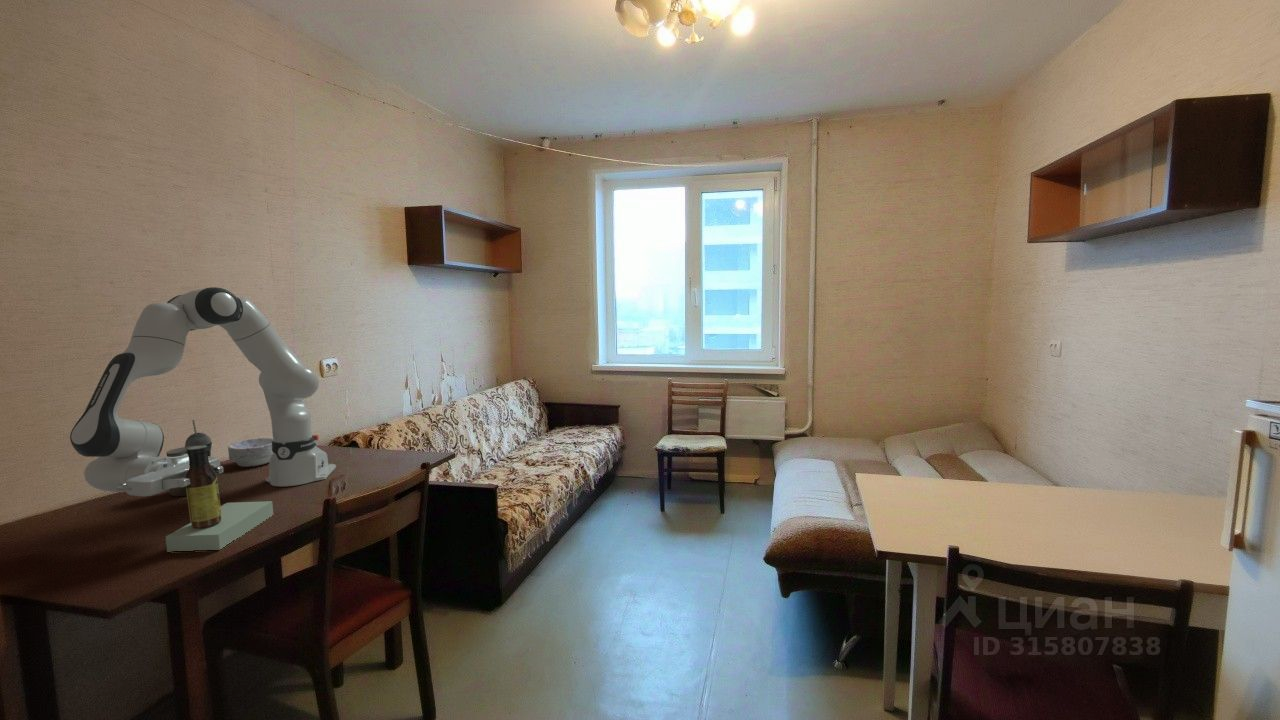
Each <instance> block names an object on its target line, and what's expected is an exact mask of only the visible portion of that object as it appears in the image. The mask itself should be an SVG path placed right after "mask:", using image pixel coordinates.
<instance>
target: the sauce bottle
mask: <svg viewBox="0 0 1280 720" xmlns="http://www.w3.org/2000/svg"><path fill="white" fill-rule="evenodd" d="M207 452H208V447H207V446H206V445H202V446H194V447H190V448H188V449H187V454H188V456H189V465H190V467H189V470H188V472H187V473H186V476H185V478H189V479H190V485H188V486H186V492H187V496H186V499H187V505H188V507H187V508H188V514H189V515H188V516H189V521H190V523H191V524H192V527H193V528H205V527H209V526H212V525H215V524H217V523H219V522H220V521H221V506H222V505H221V500H220V499H221V497H220V491H219V482H218V476H217V474H216V473H215V472H214V470H213V468H212V466H211V465H210V463H209V460H208V453H207Z"/></svg>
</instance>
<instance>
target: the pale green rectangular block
mask: <svg viewBox="0 0 1280 720" xmlns="http://www.w3.org/2000/svg"><path fill="white" fill-rule="evenodd" d="M220 506H221V521H220V522H219V523H217V524H215V525H212V526H209V527H205V528H193V527H192V524H191V522H190V523H188V524H185V525H184V526H182V527H181V528H179V529H177V530H175V531H173V532H171V533H170V534H167V535H165V545H166V553H167V552H171V551H193V550H220V549H222V548H223V547H225V546H226V545H227V544H229V543H231V542H232V541H233V540H235V541H237V540H238V539H239V537H240V538H241V537H242V535H243V536H244V535H246V534H247V533H248V531H249V532H250V531H252V530H253V529H255V528H256V527H258V526H259V525H260V523H261V524H262V523H264V522H265V521H267V520H269V519H270V518H272V517H273V516H274V506H273V501H271V500H267V501H264V500H263V501H241V502H240V501H239V502H238V501H237V502H226V503H224V504H222V505H220ZM272 515H273V516H272ZM269 517H270V518H269ZM266 519H267V520H266ZM263 521H264V522H263ZM257 525H258V526H257ZM254 527H255V528H254ZM251 529H252V530H251ZM246 532H247V533H246ZM245 533H246V534H245ZM237 538H238V539H237ZM236 539H237V540H236ZM232 543H233V542H232ZM232 543H231V544H232ZM229 545H230V544H229ZM226 547H227V546H226ZM226 547H225V548H226ZM223 549H224V548H223ZM223 549H222V550H223ZM220 551H221V550H220ZM171 553H172V552H171Z"/></svg>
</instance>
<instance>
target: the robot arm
mask: <svg viewBox="0 0 1280 720" xmlns="http://www.w3.org/2000/svg"><path fill="white" fill-rule="evenodd" d="M215 326H220V327H221V328H223V329H224V330H225V331H226V332H227V334H228V336H229V337H230V339H232V341H233V342H234V344H235V345H236V346H237V348H238V349H239V350H240V351H241V353H242V354H243V355H244V356H245V358H246V359H247V360H248V362H249V363H250V364H252V365H253V366H254V367H255V368H257V369H258V371H260V374H259V376H258V384H259V385H260V388H261V390H262V391H263V395H264V398H265V402H266V405H267V407H268V408H267V409H268V412H269V416H270V421H271V430H272V431H271V432H272V438H273V441H272V445H271V446H272V452H273V455H272V456H271V457H270V462H268V464H269V467H268V468H269V469H268V470H269V476H268V477H266V478H265V482H267V483H269V484H270V485H271V486H273V487H294V486H299V485H305V484H309V483H313V482H317V481H322V480H326V479H327V478H328V477H329V475H330V474H332V472H333V471H334V470H335V469H336V468H337V465H336V464H334V463H329V459H328V454H327V452H326V451H324V450H322V449H321V448H319V447H318V446H317V444H316V443H317V442H316V441H318V440H319V438H320V437H319V434H313V431H312V430H313V428H312V418H311V417H312V416H311V412H310V410H309V409H308V407H307V404H306V402H305V400H304V399H308V398H310V397H312V396H313V395H315V393H316V392H317V390H318V388H319V386H320V382H319V377H318V376H317V374H316V373H315V372H314V371H313V370H311V369H310V368H309V367H308V366H307V365H306V364H305V363H304V362H303V360H302V359H301V358H300V357H299V356H298V355H297V354H295V352H294V351H293V350H292V349H291V348H290V347H289V346H288V345H287V343H285V342H284V340H283V339H282V338H281V336H280V334H279V333H278V332H277V330H276V329H275V328H274V326H273V325H272V323H270V320H269V319H268V318H267V317H266V316H265V315H264V313H263V312H262V311H261V310H260V308H258V307H257V306H256V305H255V303H253V302H252V300H250V299H248V298H247V297H244V296H243V297H242V296H241V297H240V296H236V295H235V294H234V293H233V292H231V291H230V290H227V289H225V288H221V287H212V286H210V287H205V288H201V289H200V288H198V289H194V290H190V291H188V292H185V293H183V294H179V295H176V296H173V297H171V299H169V300H168V301H167V302H154V303H150V304H148V305H146V306H145V307H144V308H143V310H142V311H141V313H140V314H139V317H138V319H137V321H136V323H135V325H134V329H133V330H132V335H131V337H130V340H129V343H128V345H127V346H126V349H125V350H124V351H123V352H122V353H118V354H117V355H115V356H113V358H111V360H110V361H109V362H108V364H107V365H106V368H105V369H104V371H103V373H102V375H101V376H100V377H101V378H99V381H98V383H97V385H96V387H95V389H94V391H93V394H92V396H91V398H90V399H89V402H88V404H87V406H86V408H85V410H84V411H83V414H82V415H81V416H80V417H79V419H78V420H77V422H76V423H75V424H74V425H73V428H72V429H71V432H70V435H69V436H70V437H69V439H70V444H71V446H72V447H73V448H74V450H75V451H76V452H77V453H78V454H79V455H81V456H83V457H87V458H88V457H91V458H92V457H93V458H96V457H97V458H96V459H94V460H92V461H90V462H89V463H88V464H87V465H86V467H85V468H84V473H83V475H84V480H85V481H86V483H87V484H88V485H89V486H90V487H92V488H94V489H96V490H98V491H103V492H109V493H110V492H112V493H126V494H127V495H128V496H133V497H134V496H135V497H151V496H154V495H157V494H160V493H163V492H165V491H168V490H170V489H171V488H176V487H185V486H188V485H190V479H189V478H185V476H186V473H187V472H188V470H189V467H190V465H189V456H188V454H178V455H172V456H167V455H166V456H160V454H161V453H162V451H163V446H164V442H165V435H164V432H163V429H162V428H161V427H160V426H159V425H158V424H157V423H154V422H148V421H144V420H138V419H128V418H124V417H123V418H122V417H119V415H118V413H119V412H118V411H119V410H120V407H121V405H122V403H123V401H124V399H125V396H126V394H127V392H128V391H129V390H128V389H129V388H130V386H131V385H132V383H134V382H135V381H137V380H138V379H140V378H144V377H152V376H159V375H164V374H167V373H169V372H171V371H173V370H174V369H175V368H177V367H178V366H179V364H180V363H181V361H182V358H183V355H184V351H185V345H186V342H187V336H188V334H189V332H190V331H196V330H206V329H211V328H213V327H215ZM208 460H209V463H210V465H211V466H212V468H213V470H214V472H215V473H216V475H220V474H223V473H224V466H222V465H221V463H220V459H219V458H218V457H217V456H211V457H209V456H208Z"/></svg>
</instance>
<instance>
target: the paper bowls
mask: <svg viewBox="0 0 1280 720" xmlns="http://www.w3.org/2000/svg"><path fill="white" fill-rule="evenodd" d="M272 441H273V437H256V438H248V439H244V440H239V441H235V442H233V443H230V444H229V445H228V447H227V451H228V452H227V453H228V459H229V461H232V462H236V464H237V465H238V466H239V467H243V468H246V467H247V468H248V467H249V468H250V467H251V466H252V467H257V466H261V465H266V464H269V462H270V457H271V456H272V455H273V452H272V446H271V445H272Z"/></svg>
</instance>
